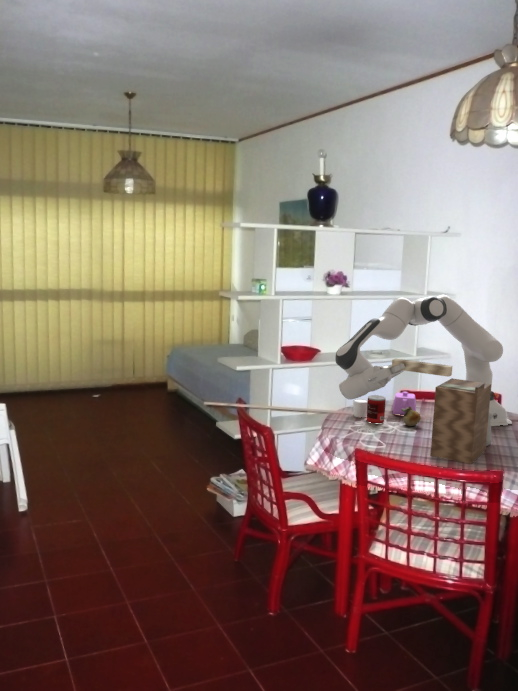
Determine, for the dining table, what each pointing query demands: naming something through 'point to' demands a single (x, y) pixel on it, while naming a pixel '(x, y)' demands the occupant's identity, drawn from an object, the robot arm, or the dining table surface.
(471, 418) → the walnut shelf
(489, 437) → the salt shaker
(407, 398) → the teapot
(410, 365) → the birch rod
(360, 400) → the white cylinder
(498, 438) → the dining table surface
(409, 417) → the onion
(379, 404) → the canned food
